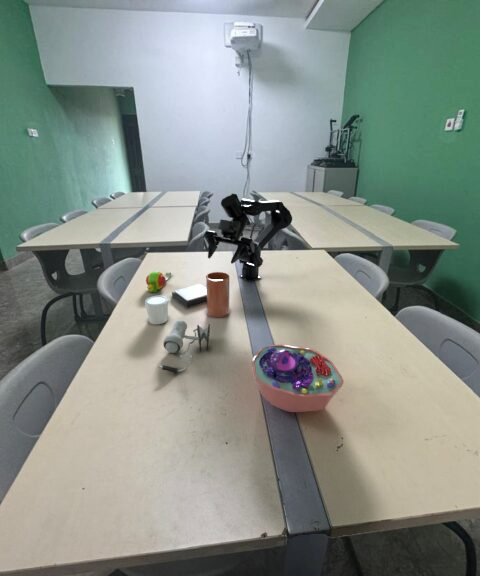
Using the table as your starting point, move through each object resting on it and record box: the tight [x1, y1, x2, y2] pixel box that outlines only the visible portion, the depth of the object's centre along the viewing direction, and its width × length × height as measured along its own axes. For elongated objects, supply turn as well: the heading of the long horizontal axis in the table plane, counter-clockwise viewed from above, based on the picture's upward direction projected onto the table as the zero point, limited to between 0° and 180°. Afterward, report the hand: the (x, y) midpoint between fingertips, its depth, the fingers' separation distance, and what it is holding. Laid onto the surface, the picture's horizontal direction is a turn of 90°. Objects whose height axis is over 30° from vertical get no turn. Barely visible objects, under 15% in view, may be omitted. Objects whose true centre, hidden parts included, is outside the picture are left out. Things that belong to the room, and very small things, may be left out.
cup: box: [205, 271, 230, 318], centre depth 103 cm, size 7×7×13 cm
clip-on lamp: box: [158, 320, 211, 374], centre depth 83 cm, size 12×6×18 cm
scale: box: [171, 283, 207, 309], centre depth 115 cm, size 12×11×2 cm
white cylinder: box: [144, 295, 169, 325], centre depth 99 cm, size 7×7×7 cm
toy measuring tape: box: [145, 270, 172, 293], centre depth 124 cm, size 6×19×7 cm, turn 173°
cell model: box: [251, 344, 344, 413], centre depth 69 cm, size 17×20×11 cm
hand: (219, 260), depth 111 cm, fingers open, 9 cm apart
